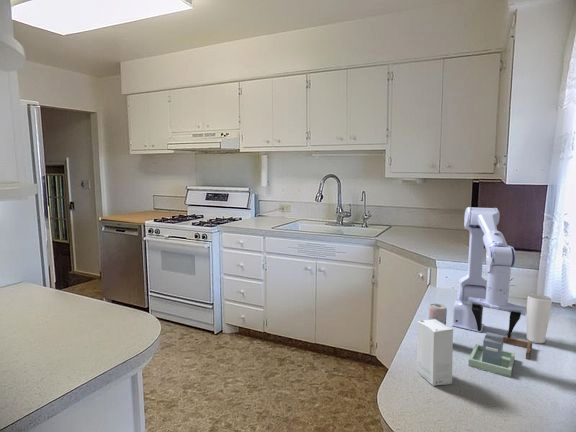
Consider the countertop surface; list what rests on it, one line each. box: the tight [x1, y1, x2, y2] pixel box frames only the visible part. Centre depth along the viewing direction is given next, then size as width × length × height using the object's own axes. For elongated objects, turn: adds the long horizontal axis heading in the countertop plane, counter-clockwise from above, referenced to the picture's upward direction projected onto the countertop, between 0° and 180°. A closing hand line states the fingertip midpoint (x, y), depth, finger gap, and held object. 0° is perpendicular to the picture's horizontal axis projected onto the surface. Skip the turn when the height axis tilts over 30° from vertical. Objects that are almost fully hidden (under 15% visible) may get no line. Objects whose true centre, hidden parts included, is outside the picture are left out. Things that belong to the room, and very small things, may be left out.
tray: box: [467, 343, 516, 378], centre depth 113 cm, size 11×13×2 cm
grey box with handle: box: [482, 331, 505, 366], centre depth 112 cm, size 4×8×7 cm, turn 146°
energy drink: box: [427, 303, 448, 326], centre depth 126 cm, size 5×5×12 cm
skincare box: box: [416, 319, 454, 387], centre depth 103 cm, size 8×6×15 cm
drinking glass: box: [525, 293, 552, 344], centre depth 128 cm, size 7×7×15 cm
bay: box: [503, 335, 533, 360], centre depth 122 cm, size 12×9×2 cm
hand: (494, 333), depth 112 cm, fingers open, 7 cm apart
